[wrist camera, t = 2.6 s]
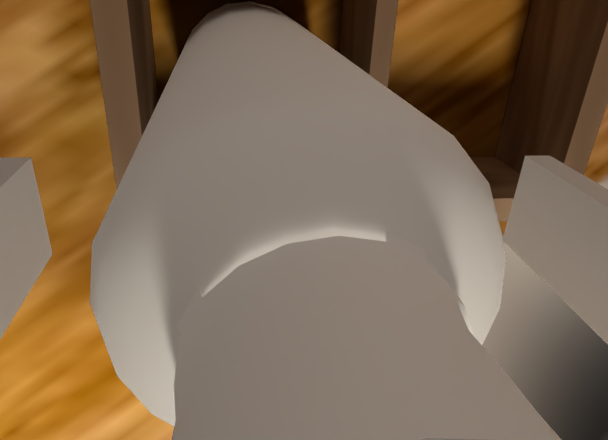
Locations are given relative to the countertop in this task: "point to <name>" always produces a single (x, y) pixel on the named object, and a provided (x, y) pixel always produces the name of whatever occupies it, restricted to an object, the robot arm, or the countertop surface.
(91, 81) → the countertop surface
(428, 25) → the countertop surface
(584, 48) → the carrier
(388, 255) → the bottle
